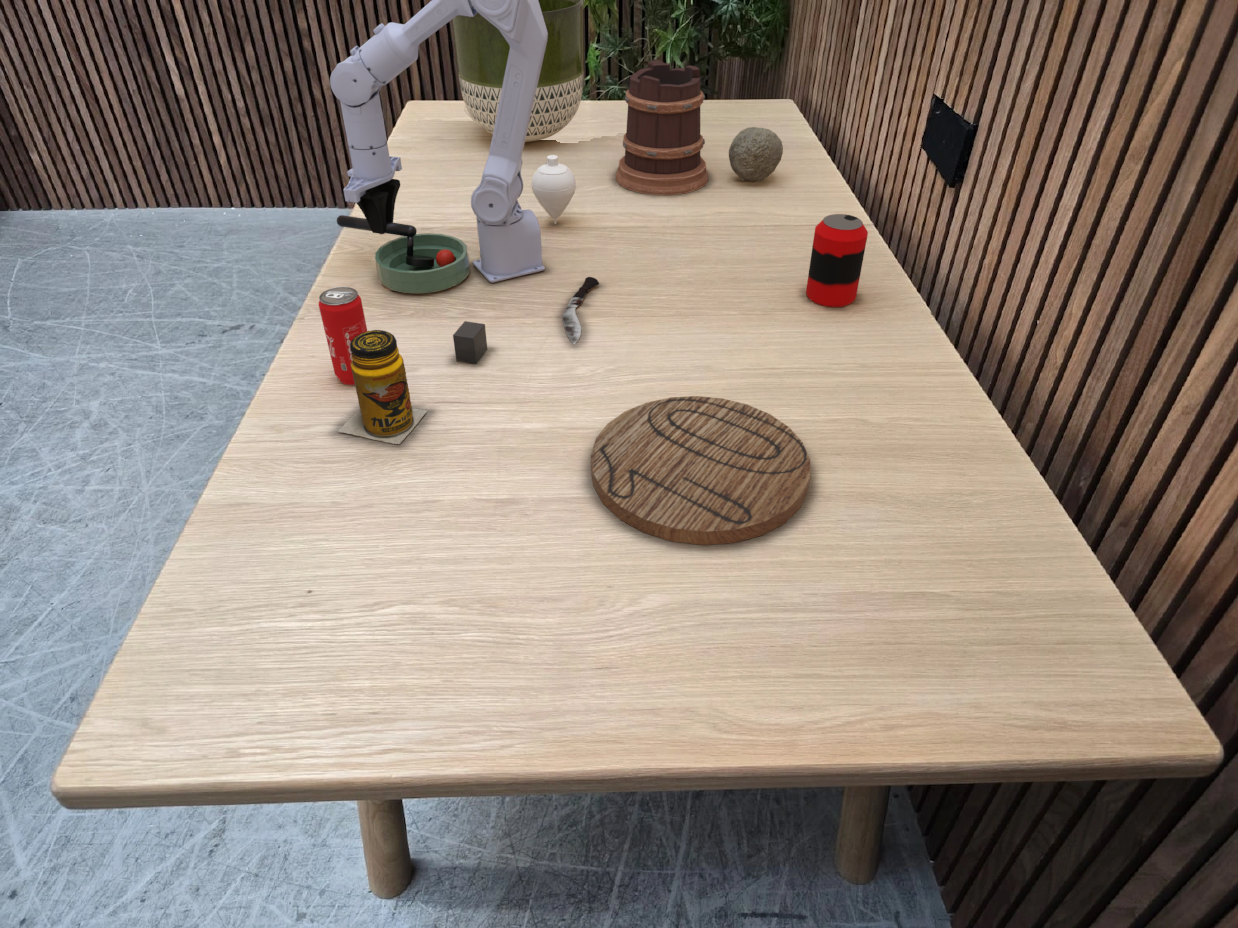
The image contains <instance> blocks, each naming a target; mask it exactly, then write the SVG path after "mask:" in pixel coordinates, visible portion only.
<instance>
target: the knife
mask: <svg viewBox="0 0 1238 928" xmlns="http://www.w3.org/2000/svg"><path fill="white" fill-rule="evenodd" d="M598 285H600V282H599V280H598V279H597V278H595V277H593V276H587V277H585V279H584V282H583V284H582V286H580V287H579V288H578V289H577V291H576V292H575V294H574V295H573V296H572V297H571V299H570V301H569V302H568V304H567V306H566V307H565V310H564V311H563V313H562V315H561V317H562V323H563V327H564V330H565V334H566V336H567V338H568V339H569V341H570V342H571V343H572V344H573V345H574V346H575V345H576V344H577V342H578V341H579V340H580V338H581V334H582V326H581V323H580V320H579V318H578V316H577V314H576V309H577V307H578V306H580V305H582V304H583V303H584V299H585V297H586V294H588V293H589V291H590V290H591V289H593V288H594V287H596V286H598Z"/></svg>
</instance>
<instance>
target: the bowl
mask: <svg viewBox="0 0 1238 928" xmlns="http://www.w3.org/2000/svg"><path fill="white" fill-rule="evenodd" d="M444 249H446V250H449V251H451V252H452V253H453V254H454V256H455V261H454V262H453V263H451V264H448V265H446V266H443V267H440V266H439V265H438V264H437V262H436V255H437V253H438V252H439V251H441V250H444ZM413 255H420V256H428V257H432V258H434V266H433V267H418V266H411V265H407V264H406V256H407V236H400V237H396V238H394V239H392V240H389V241H387V242H385V243H384V244H381V246H379V248H378V249H377V250H376V251H375V254H374V261H375V267H376V272H377V277H378V280H379V282H380V283H381V284H382V286H384V287H386V288H388V289H389V290H391V291H395V292H399V293H404V294H428V293H436V292H439V291H444V290H447V289H450V288H453V287H454V286H458V285H459V284H461V283H462V282H463V281H465V280H466V279H467V278H468V275H469V274H470V272H471V271H470V270H471V269H470V261H469V253H468V246H467V244H466V243H465V242H464V241H463V240H462V239H459V238H458V237H455V236H453V235H448V234H444V233H430V232H428V233H427V232H425V233H416V235H415V236H414V246H413Z"/></svg>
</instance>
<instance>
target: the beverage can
mask: <svg viewBox="0 0 1238 928" xmlns="http://www.w3.org/2000/svg"><path fill="white" fill-rule="evenodd" d="M318 300H319V301H318V309H319V314H320V317H321V322H322V325H323V331H324V334H325V338H326V342H327V347H328V351H329V355H330V359H331V362H332V363H331V364H332V369H333V373H334V375H335V376H336V378H337V379H338V381H339V382H340V383H341V384H343V385H345V386H355V383H354V378H353V374H352V369H351V363H352V356H351V355H352V352H351V349H350V343H351V341H352V339H354V338H355V336H357V335H359V334H361V333H363V332H367V331H368V326H367V322H366V316H365V312H364V307H363V303H362V297H361V296H360V295H359V292H358V290H356V288H354V287H351V286H335V287H330V288H328V289H326V290H324V291H322V292H321V293H320V294H319V296H318Z"/></svg>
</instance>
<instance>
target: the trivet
mask: <svg viewBox="0 0 1238 928" xmlns="http://www.w3.org/2000/svg"><path fill="white" fill-rule="evenodd" d="M590 453H591V454H590V469H591V477H592V479H591V480H592V486H593V488H594V490H595V492H596V493H597V495H598V498H599V499H600V502H601V503H602V505H604V506H605V507H606V508H607V509H608V510H609V511H610V512H611V513H612V514H613V515H615V516H616V518H617V519H619V520H620V521H622V522H623V523H625V524H627V525H629V526H630V527H632V528H634V529H636V530H638V531H640V532H642V533H643V534H646V535H650V536H653V537H656V538H659V539H660V538H661V539H663V540H666V541H670V542H673V543H682V544H692V545H699V546H707V545H708V546H709V545H723V544H736V543H740V542H742V541H743V542H744V541H746V540H751V539H753V538H757V537H761V536H763V535H766V534H767V533H769V532H771V531H774V530H775V529H776V528H779V527H780V526H782V525H784V524H785V523H787V522H788V521H789V520H790V519H791V517H793V516H794V515H795V514H796V513H797V512H798V511H799V510H800V509H801V506H802V504H803V502H804V500H805V498H806V496H807V493H808V491H809V486H810V482H811V481H810V480H811V459H810V456H809V454H808V451H807V449H806V447H805V444H804V442H803V441H802V440H801V438H799V436H798V435H797V434H796V433H795V432H794V431H793V430H792V429H791V428H790V426H788V425H787V424H786V423H784V422H782V421H781V420H780V419H778V418H776V417H775V416H774V415H772V414H771V413H769V412H766V411H764V410H761V409H759V408H757V407H754V406H751V405H749V404H747V403H743V402H739V401H735V400H731V399H726V398H722V397H711V396H701V395H690V396H689V395H688V396H672V397H671V396H670V397H667V398H661V399H657V400H652V401H648V402H644V403H642V404H640V405H637V406H635V407H632V408H629V409H627V410H625V411H624V412H622V413H621V414H619V415H618V416H616V417H615V418H613V419H611V420H610V421H609V422H608V423H607V424H606V425H605V426H604V428H603V429H602V430H601V432H599V433H598V435H597V436H596V438H595V440H594V443H593V447H592V450H591V452H590Z"/></svg>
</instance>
